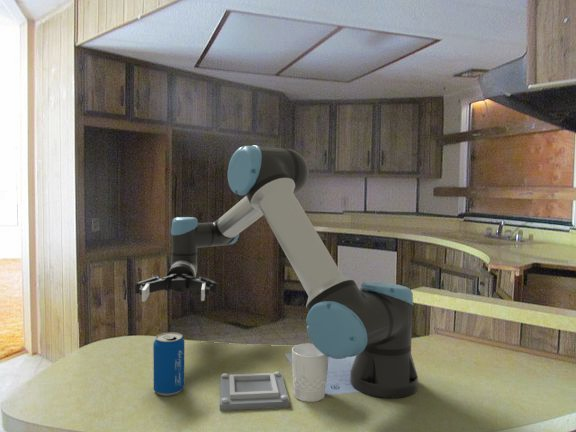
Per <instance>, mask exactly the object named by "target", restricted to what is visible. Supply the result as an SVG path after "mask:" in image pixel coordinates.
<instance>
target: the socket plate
mask: <svg viewBox="0 0 576 432" xmlns="http://www.w3.org/2000/svg"><path fill="white" fill-rule="evenodd" d="M219 382H220V383H219V385H220V386H219V387H220V388H219V411H236V410H255V409H257V410H258V409H259V410H260V409H277V408H279V409H280V408H290V398H289V395H288V391H287V389H286V385H285V381H284V378H283V375H282V373H281V371H274V372H267V373H266V372H264V373H263V372H262V373H261V372H260V373H235V374H229V373H222V374H221V375H220V380H219Z"/></svg>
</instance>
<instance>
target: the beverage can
mask: <svg viewBox="0 0 576 432" xmlns="http://www.w3.org/2000/svg"><path fill="white" fill-rule="evenodd" d="M152 348H153V356H152V357H153V391H155V392H156V393H157V394H158V395H159V396H165V397H167V396H168V397H169V396H175V395H177V394H179V393H180V392H181V391H182V390H184V388H185V340H184V338H183V334H181V333H179V332H172V331H171V332H162V333H159V334H157V335H155V340H154V342H153V347H152Z"/></svg>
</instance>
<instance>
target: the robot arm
mask: <svg viewBox="0 0 576 432" xmlns="http://www.w3.org/2000/svg"><path fill="white" fill-rule="evenodd" d="M309 173H310V172H309V166H308V163H307V162H306V160H305V158H304V156H303V155H302V154H300V153H299V152H297V151H296V150H294V149H291V148H286V147H285V148H283V147H282V148H281V147H272V146H260V145H255V144H254V145H243V146H241V147H239V148H238V149H236V150H235V151H234V152H233V155H232V156H231V157H230V160H229V163H228V169H227V182H228V185H229V188H230V189H231V191H232V192H233V193H234V194H236V195H238V196H241V197H243V196H244V197H243V198H241V199H240V201H238V202H237V203H236V204H235V205H233V206H232V207H231V208H230V209H229V210H228V211H226V212H225V213H224V214H223V215H221V217H219V218H218V219H217V220H215V221H213V222H212V221H211V222H198V219H197V218H196V217H193V216H191V217H190V216H180V217H179V216H177V217H174V218H172V220H171V221H172V223H171V228H170V229H171V230H170V234H171V254H170V255H171V258H170V259H171V263H170V264H171V265H170V266H171V267H170V268H169V270H168V272H167V274H166V276H163V277H161V278H160V277H159V276H158V275H153V276H152V277H149V278H147V279H144V280H141V281H138V282H135V283H134V294H139V296H141V302H142V303H144V302H146V301H147V299H148V298H149V297H150V293H154V292H159V291H172V292H174V293H180V294H181V293H185V292H188V291H193V290H194V291H197V292H200V301H201V302H204V301H205V300H206V299H205V298H206V296H207V295H210V294H211V292H212V293H214V294H216V293H218V282H217V281H214V280H212V279H210V278H208V277H206V276H205V275H201V276H199V277H198V278H196V277H197V273H198V268H199V266H198V265H199V264H198V248H199V249H200V248H208V247H219V246H220V247H221V246H222V247H223V246H224V247H225V246H229V245H233V244H235V243H237V242H238V239H239V236H240V233H241V232H243V231H244V230H246V229H247V228H249V227H250V226H251V225H253V224H254V223H255V222H256V221H258V220H259V219H260V218H261V217H264V218H265V220H266V221H267V223H268V225H269V227H270V228H271V230H272V232H273V235H274V237H275V238H276V240H277V242H278V243H279V245H280V247H281V249H282V251H283V252H284V254H285V256H286V258H287V259H288V262H289V263H290V266H291V268H292V269H293V271H294V272H295V274H296V276H297V278H298V280H299V282H300V284H301V286H302V287H303V289H304V291H305V292H306V295H307V297H308V298H307V301H306V304H305V307H306V309H307V312H308V313H307V316H306V320H305V322H306V324H307V326H306V331H307V335H308V338H309V340H310V342H311V344H314V346H315V347H316V348H317V349H318V350H319V351H320V352H321V353H323V354H324V355H326V356H328V358H332V359H335V360H343V359H346V358H351V357H355V358H354V360H353V363H352V367H351V368H350V378H349V379H350V380H349V381H350V384H351V385H352V386H353V387H354V388H355V389H356V390H357V391H359V392H362V393H363V394H366V395H370V396H372V397H378V398H387V399H388V398H391V399H397V398H399V399H400V398H405V397H409V396H411V395H413V394H414V393H416V392H417V391H418V388H419V377H418V373H417V370H416V365H415V363H414V359H413V355H412V338H413V336H412V335H413V313H414V305H415V304H414V298H413V297H414V296H413V295H414V294H413V291H412V290H411V288H410V287H408V286H404V285H400V284H396V283H391V282H383V281H372V280H371V281H368V280H367V281H363V282H362V283H361V285H360V287H358V285H357V283H356V282H355V280H354V278H350V277H345V276H344V275H343V273H342V272H341V270H340V269H339V267H338V265H337V263H336V262H335V260H334V258H333V257H332V256H331V254H330V252H329V250H328V248H327V247H326V245H325V244H324V242H323V240H322V239H321V236H320V235H319V234H318V231H316V229H315V227H314V225H313V223H312V222H311V220H310V218H309V216H308V215H307V213H306V212H305V209H304V208H303V207H302V205H301V203H300V202H299V200H298V198H297V197H296V196H297V195H299V193H300V192H301V191H303V189H305V187H306V185H307V183H308V180H309Z"/></svg>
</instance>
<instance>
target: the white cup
mask: <svg viewBox="0 0 576 432" xmlns="http://www.w3.org/2000/svg"><path fill="white" fill-rule="evenodd" d="M328 366H329V357H328V356H326V355H324V354H323V353H321V352H320V351H319V350H318V349H317V348H316V347H315V346H314V344H313V343H312V342H311V343H300V344H296V345H294V346H293V347H292V348H291V367H292V369H291V370H292V371H291V372H292V383H293V384H292V386H293V388H292V389H293V391H292V393H293V396H294V397H295V398H296V399H297V400H299V401H303V402H307V403H315V402H318V401H322V399H324V398H325V396H326V395H325V394H326V385H327V379H328Z"/></svg>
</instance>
